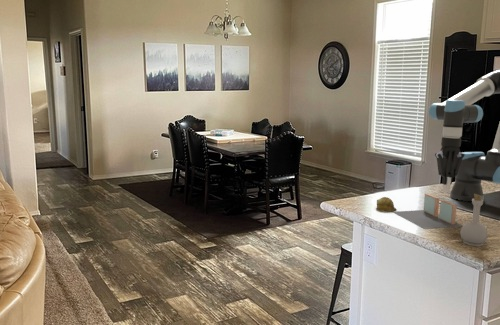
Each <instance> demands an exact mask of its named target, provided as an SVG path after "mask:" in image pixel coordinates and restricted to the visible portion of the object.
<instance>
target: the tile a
mask: <svg viewBox="0 0 500 325" xmlns="http://www.w3.org/2000/svg"><path fill="white" fill-rule="evenodd" d="M423 200H424V201H423V209H422V210H423V211H424V212H426V213H428V214H430V215H432V216H434V217H436V216H438V214H439V210H440V197H438V196H436V195H432V194H430V193H424V199H423Z"/></svg>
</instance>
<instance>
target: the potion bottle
mask: <svg viewBox="0 0 500 325" xmlns="http://www.w3.org/2000/svg"><path fill="white" fill-rule="evenodd" d="M471 204H472V205H473V210H472V218H471V221H466V222H465V223H464V224H462V225H463V227H461V228H460V231H459V232H460V238H461V239H462V243H463V244H465V245H468V246H471V247H483V246H484V243H486V242H487V241H488V240H487V239H488V230H487V228H486V225H485V224H484V223H481V222H480V216H481V215H480V213H481V206H483V204H484V200H482V196H480V195H477V194H474V199H472V202H471Z"/></svg>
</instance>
